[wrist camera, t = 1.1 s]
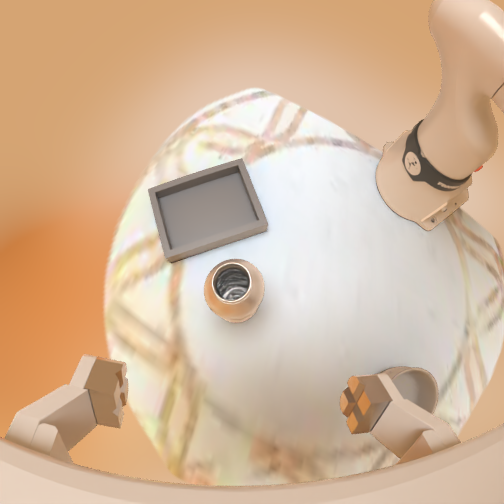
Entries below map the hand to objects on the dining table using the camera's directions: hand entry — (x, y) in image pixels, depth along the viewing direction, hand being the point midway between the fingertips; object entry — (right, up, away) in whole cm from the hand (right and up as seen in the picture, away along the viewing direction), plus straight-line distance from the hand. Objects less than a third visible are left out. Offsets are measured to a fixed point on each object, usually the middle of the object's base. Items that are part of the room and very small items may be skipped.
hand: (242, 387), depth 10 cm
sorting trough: (-7, +11, +40) cm, 42 cm away
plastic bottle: (-2, -3, +37) cm, 37 cm away
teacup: (+23, -20, +33) cm, 45 cm away
